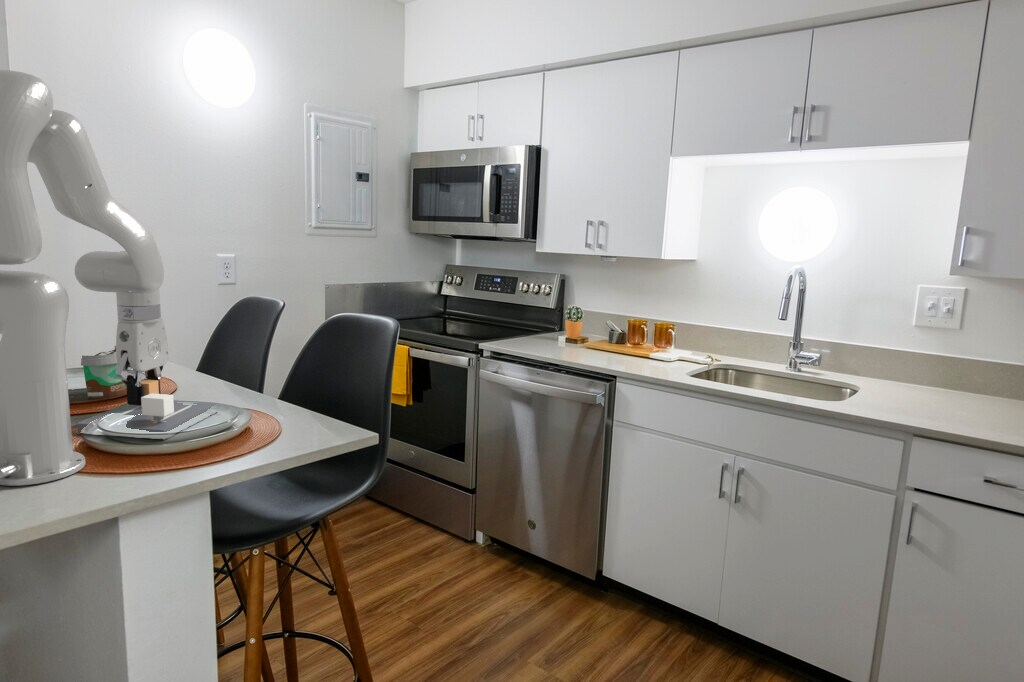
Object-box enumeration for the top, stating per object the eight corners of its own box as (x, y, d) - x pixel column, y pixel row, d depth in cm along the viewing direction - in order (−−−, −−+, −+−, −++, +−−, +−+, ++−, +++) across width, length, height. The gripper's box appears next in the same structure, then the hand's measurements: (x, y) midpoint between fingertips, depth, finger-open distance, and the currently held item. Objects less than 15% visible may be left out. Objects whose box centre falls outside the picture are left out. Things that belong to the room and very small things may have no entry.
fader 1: (150, 405, 130) (148, 384, 130) (129, 404, 131) (128, 382, 130) (159, 402, 133) (158, 380, 132) (139, 400, 134) (137, 378, 133)
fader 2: (164, 422, 121) (163, 399, 120) (142, 420, 121) (141, 397, 120) (174, 418, 124) (173, 394, 123) (152, 416, 124) (151, 393, 123)
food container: (111, 402, 139) (108, 357, 137) (83, 401, 139) (80, 356, 137) (145, 388, 151) (142, 346, 149) (119, 386, 151) (116, 345, 149)
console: (164, 440, 118) (163, 429, 118) (77, 433, 120) (76, 422, 119) (217, 412, 136) (217, 402, 135) (141, 406, 137) (140, 397, 137)
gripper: (128, 320, 120) (134, 414, 123) (182, 308, 137) (186, 392, 140) (90, 318, 121) (97, 411, 124) (148, 306, 137) (153, 389, 141)
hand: (144, 400), depth 132 cm, fingers open, 4 cm apart
